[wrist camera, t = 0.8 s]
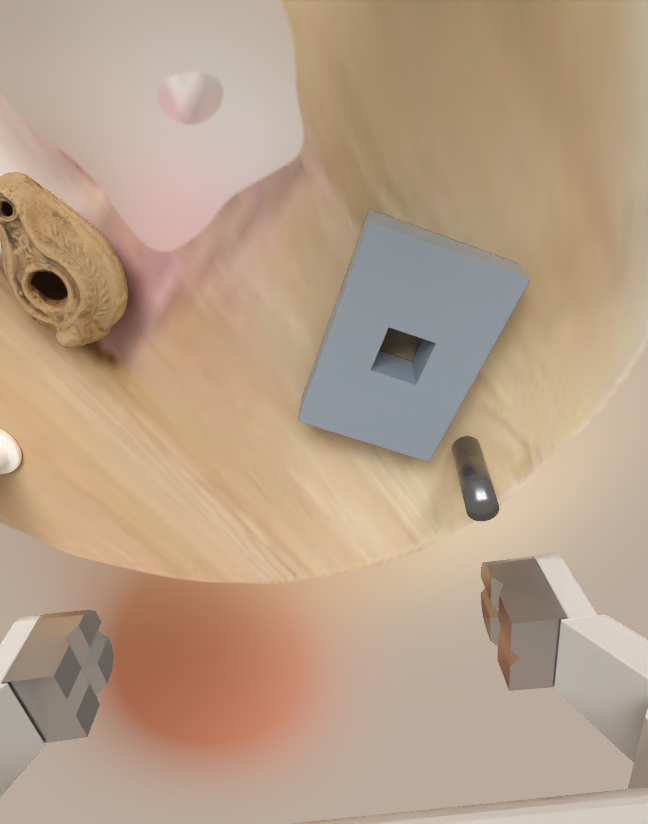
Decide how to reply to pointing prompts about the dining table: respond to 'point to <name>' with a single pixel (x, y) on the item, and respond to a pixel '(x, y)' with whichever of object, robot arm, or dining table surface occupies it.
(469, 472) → the peg
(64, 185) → the dining table surface
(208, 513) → the dining table surface
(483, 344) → the hole block
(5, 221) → the oil lamp
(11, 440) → the candle
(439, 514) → the dining table surface
